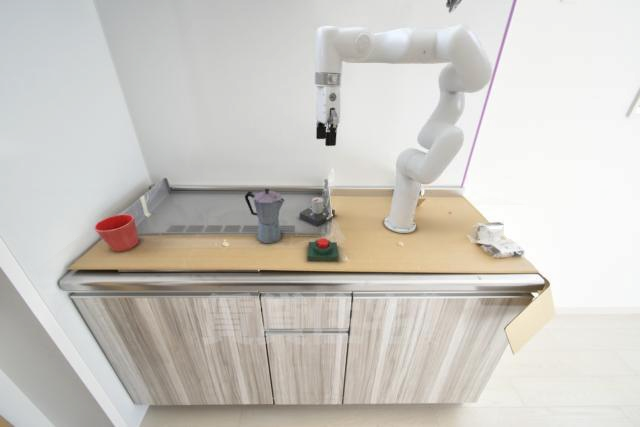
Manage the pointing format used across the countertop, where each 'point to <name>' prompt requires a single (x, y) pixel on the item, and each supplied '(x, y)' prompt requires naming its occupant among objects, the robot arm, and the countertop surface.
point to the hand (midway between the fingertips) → (325, 142)
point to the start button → (322, 243)
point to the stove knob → (317, 205)
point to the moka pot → (267, 214)
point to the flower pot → (118, 232)
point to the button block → (323, 252)
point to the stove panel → (315, 216)
